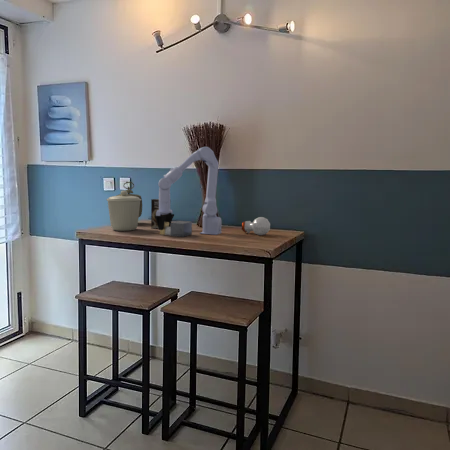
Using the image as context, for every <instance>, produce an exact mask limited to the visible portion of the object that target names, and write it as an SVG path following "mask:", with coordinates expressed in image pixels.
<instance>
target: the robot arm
mask: <svg viewBox="0 0 450 450" xmlns="http://www.w3.org/2000/svg"><path fill="white" fill-rule="evenodd" d="M198 161H203V162H204V163H205V164H206V166H208V169H207V170H208V171H207V183H206V193H205V199H204V203H203V205H202V212H203V215H202V231H201V232H199V234H201V235H216V236H217V235H220V234H222V233H223V232H222V217H220V216H217V214H218V206H217V199H216V195H217V185H218V175H219V173H218V172H219V161H218V159H217V157H216V155H215V152H214V150H212V149H211V147H210V146H203V147H199V148H198V149H197V150H195V151H193V152H192V153H191V154H190V155H189V156H188V157H187V158H186V159H184V160H183V162H182V163H181V164H180V165H178V166H174V167H171V168H170V170H169V171H168V172H167V173H166V174H163V177H162V178H160V179H159V181H158V184H157V185H158V199H159V210H157V212H156V215H155V216H154V217H155V219H156V221H157V224H158V228H159V229H158V230H159V231H160V230H163V228H164V221H165V222H169V226H171V223H172V222H173V218H174V216H175V214H174V213H173V209H171V202H170V200H171V187H172V185H174V183H176V182H177V181H178V180H179V179H180V178H182V176H183V172H184V171H185V170H186V169H188V167H189V166H191V165H192V164H194V162H198ZM162 215H163V216H162Z"/></svg>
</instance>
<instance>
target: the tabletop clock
mask: <svg viewBox="0 0 450 450" xmlns="http://www.w3.org/2000/svg"><path fill="white" fill-rule="evenodd" d="M126 184H132V185H133V186H132V187H130V186H127V187H125V185H126ZM134 187H135V184H134V182H132V181H126V182H124V183H123V188H124V189H125V191H127V195H126V196H135V197H139V198H140V199H141V201H140V208H139V218H141V217H142V214H143V199H142V195H140V194H135V193H134V191H133V190H132V189H134ZM115 196H122V195H121V193H120V194H117V195H115Z"/></svg>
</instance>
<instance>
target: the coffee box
mask: <svg viewBox="0 0 450 450" xmlns="http://www.w3.org/2000/svg"><path fill="white" fill-rule="evenodd" d="M150 200H151V202H150V203H151V205H150V207H151V211H150V214H151V215H150V216H151V217H150V218H151V219H150V225H151V226H150V229H156V228H158V224H157V221H156V219H155V217H154V216H155V215H156V212H157V210H159V198H151V199H150ZM171 202H172V201H171V199H170V203H171ZM162 216H163V215H162ZM164 222H165V221H164ZM158 230H159V228H158Z"/></svg>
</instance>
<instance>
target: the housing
mask: <svg viewBox="0 0 450 450" xmlns="http://www.w3.org/2000/svg"><path fill="white" fill-rule="evenodd" d="M170 226H171V235H170V237H175V238H176V237H178V238H185V237H188V236H191V235H192V234H193V231H192V230H193V221H187V220H177V221H172V222H171V225H170Z"/></svg>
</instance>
